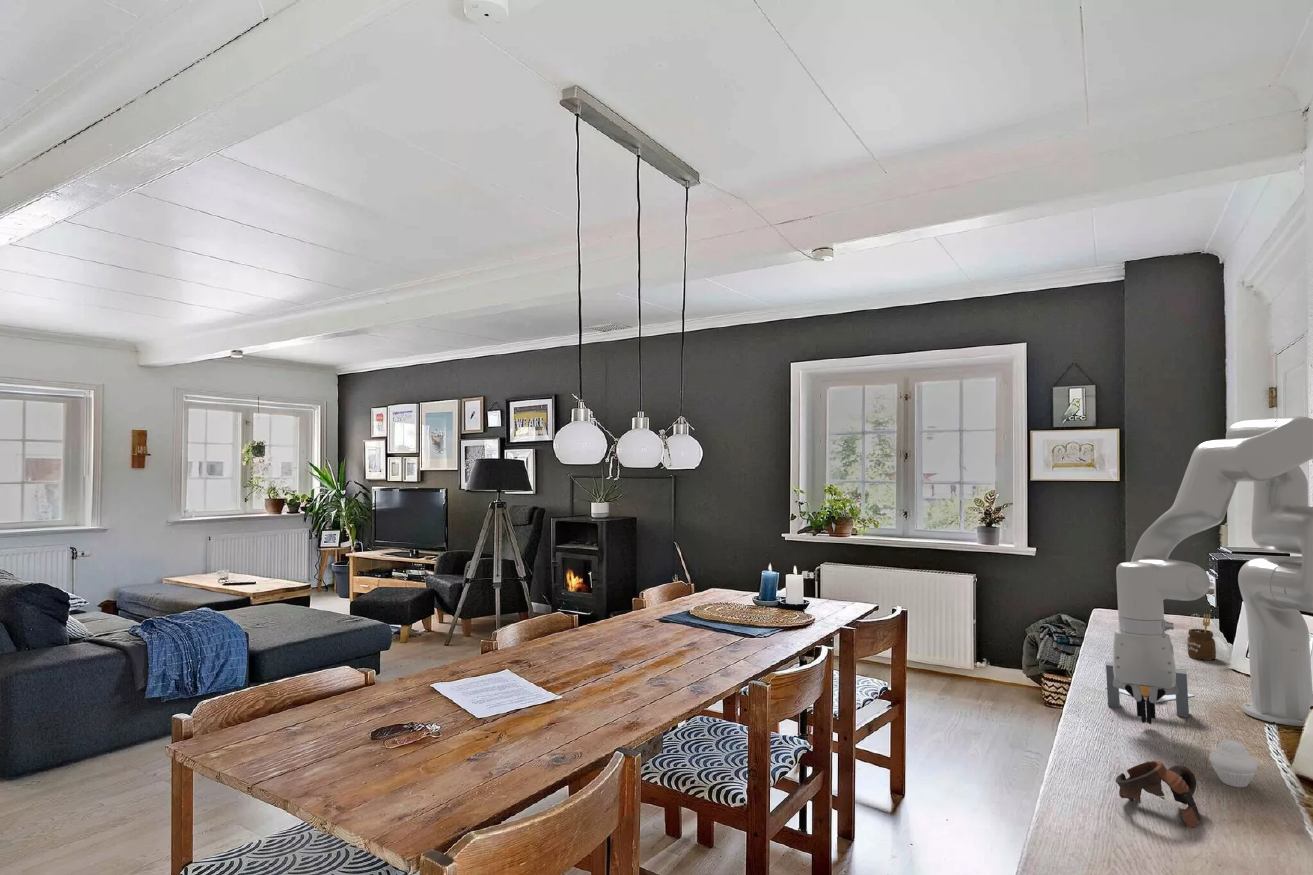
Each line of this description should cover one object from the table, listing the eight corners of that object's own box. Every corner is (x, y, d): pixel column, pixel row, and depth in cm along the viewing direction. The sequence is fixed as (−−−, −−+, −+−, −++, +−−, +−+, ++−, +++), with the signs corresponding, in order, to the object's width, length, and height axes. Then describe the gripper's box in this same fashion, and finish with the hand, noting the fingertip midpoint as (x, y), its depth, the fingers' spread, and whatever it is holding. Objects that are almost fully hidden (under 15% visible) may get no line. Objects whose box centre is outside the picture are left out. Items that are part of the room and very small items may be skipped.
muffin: (1251, 795, 114) (1248, 749, 114) (1204, 782, 119) (1202, 738, 119) (1264, 784, 117) (1261, 740, 118) (1218, 772, 122) (1215, 729, 123)
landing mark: (1143, 681, 172) (1143, 680, 172) (1194, 696, 161) (1194, 695, 161) (1104, 687, 169) (1104, 686, 169) (1153, 703, 157) (1153, 702, 157)
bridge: (1108, 702, 158) (1106, 661, 159) (1188, 713, 151) (1186, 670, 151) (1108, 706, 156) (1105, 665, 156) (1189, 717, 148) (1186, 673, 148)
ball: (1145, 667, 161) (1144, 689, 158) (1166, 676, 161) (1166, 698, 158) (1128, 672, 165) (1128, 693, 163) (1149, 681, 165) (1149, 702, 162)
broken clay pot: (1185, 840, 102) (1146, 781, 105) (1130, 841, 110) (1096, 786, 113) (1231, 799, 107) (1193, 744, 110) (1176, 804, 115) (1142, 752, 118)
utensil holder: (1206, 655, 194) (1204, 609, 194) (1222, 661, 188) (1219, 614, 188) (1182, 655, 194) (1180, 609, 195) (1197, 661, 188) (1195, 614, 189)
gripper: (1187, 626, 142) (1193, 722, 141) (1098, 619, 151) (1103, 709, 150) (1189, 634, 136) (1195, 734, 135) (1095, 626, 144) (1100, 720, 144)
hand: (1146, 721), depth 143 cm, fingers closed
